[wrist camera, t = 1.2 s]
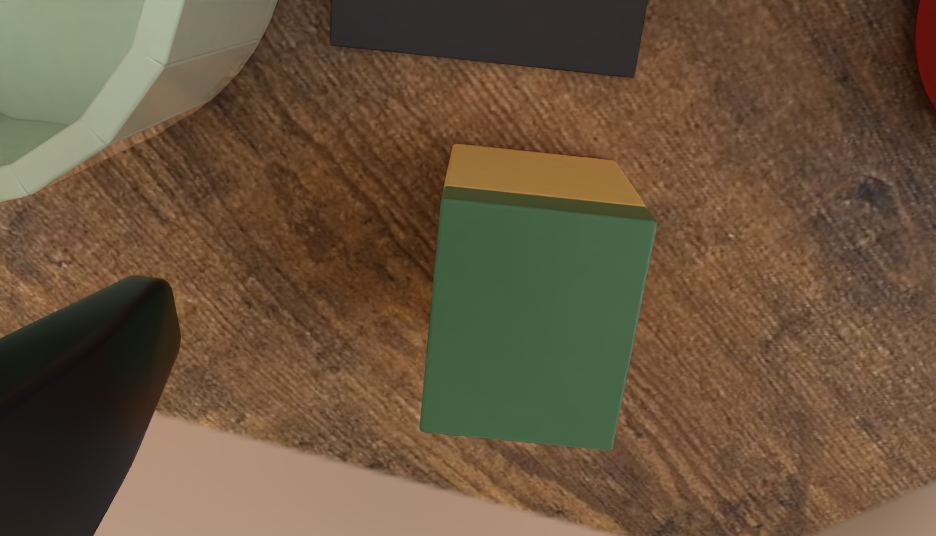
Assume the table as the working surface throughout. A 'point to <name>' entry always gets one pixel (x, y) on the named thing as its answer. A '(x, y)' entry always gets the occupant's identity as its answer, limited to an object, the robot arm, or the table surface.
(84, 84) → the bowl
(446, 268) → the sponge
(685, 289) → the table surface
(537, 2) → the mat
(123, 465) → the robot arm
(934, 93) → the beverage can
